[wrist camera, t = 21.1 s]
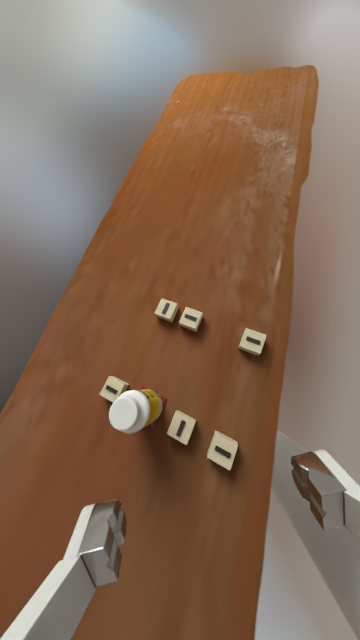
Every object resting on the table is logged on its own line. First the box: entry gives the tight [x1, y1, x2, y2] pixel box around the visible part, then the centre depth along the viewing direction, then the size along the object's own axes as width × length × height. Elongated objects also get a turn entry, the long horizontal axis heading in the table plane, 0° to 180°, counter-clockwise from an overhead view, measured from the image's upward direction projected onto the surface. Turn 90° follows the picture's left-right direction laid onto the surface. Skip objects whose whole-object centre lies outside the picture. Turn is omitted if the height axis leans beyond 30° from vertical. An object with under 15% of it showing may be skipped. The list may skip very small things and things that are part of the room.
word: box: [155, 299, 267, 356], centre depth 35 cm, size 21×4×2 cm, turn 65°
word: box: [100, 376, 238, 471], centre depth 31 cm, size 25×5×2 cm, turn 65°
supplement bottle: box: [109, 389, 162, 433], centre depth 28 cm, size 6×6×10 cm
